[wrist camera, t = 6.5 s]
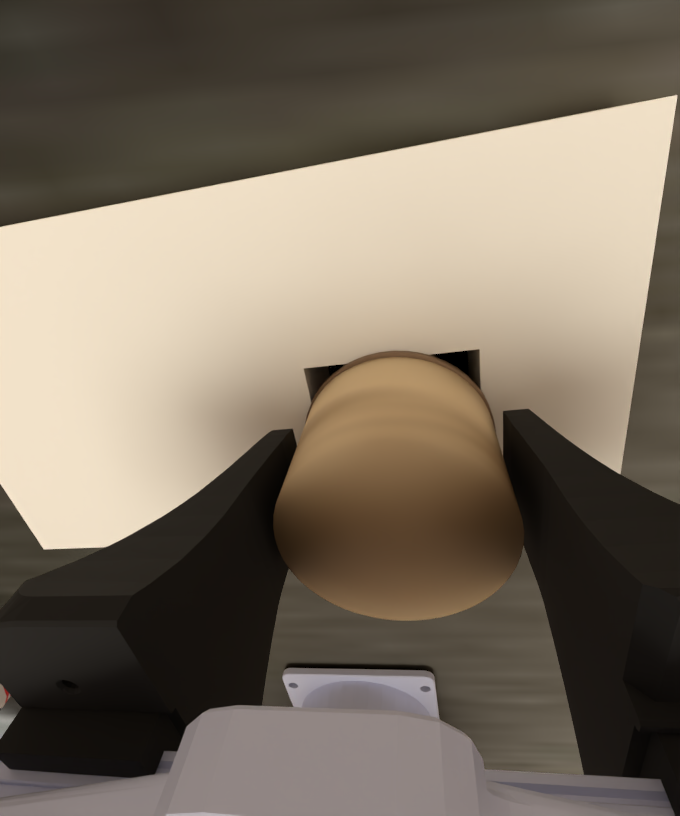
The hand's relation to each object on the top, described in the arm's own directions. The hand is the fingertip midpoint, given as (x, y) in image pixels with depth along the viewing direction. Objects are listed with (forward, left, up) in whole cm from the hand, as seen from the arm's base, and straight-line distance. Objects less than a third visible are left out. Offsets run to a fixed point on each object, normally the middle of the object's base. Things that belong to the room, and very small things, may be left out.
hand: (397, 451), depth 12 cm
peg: (0, 0, -4) cm, 4 cm away
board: (+2, +4, -4) cm, 6 cm away
